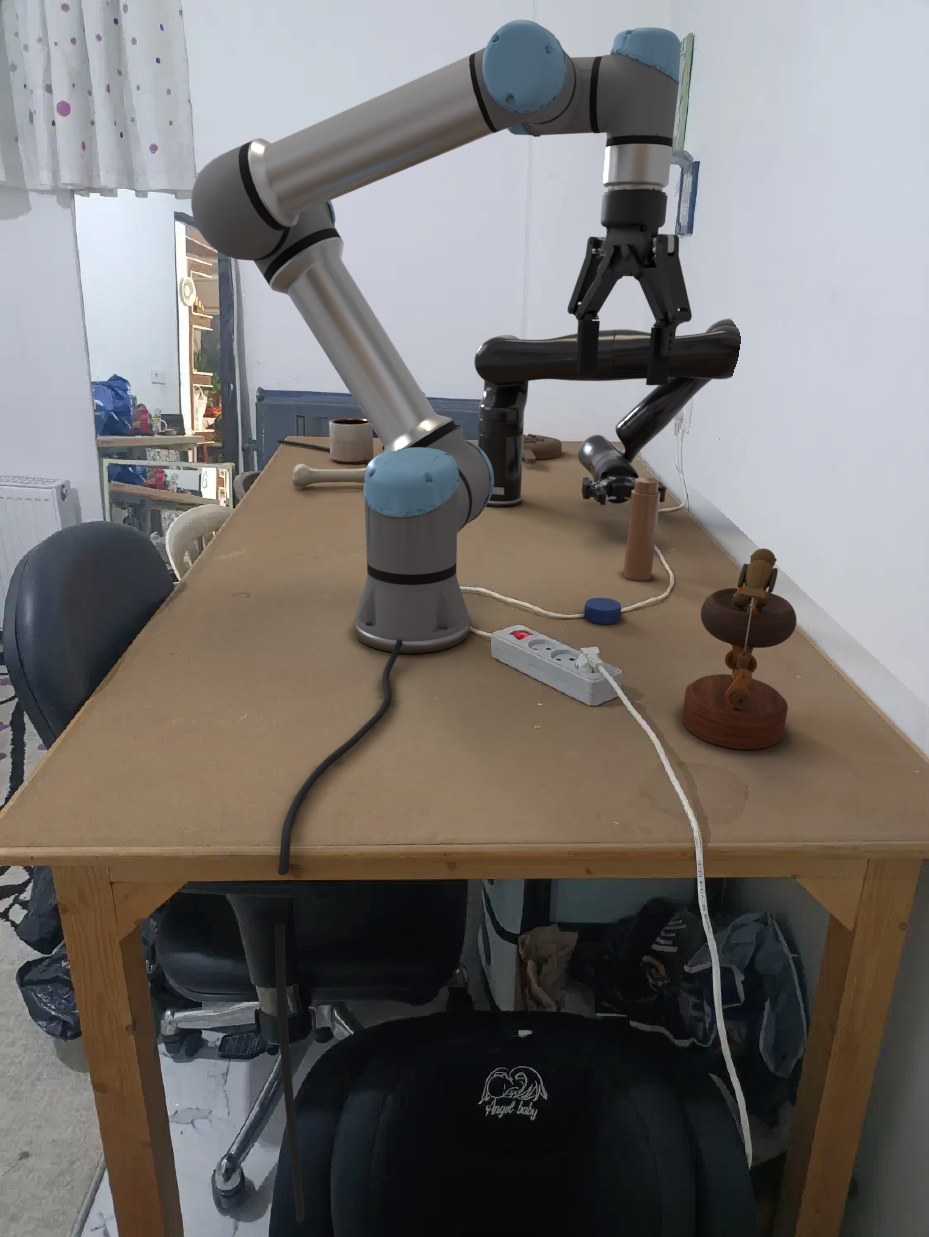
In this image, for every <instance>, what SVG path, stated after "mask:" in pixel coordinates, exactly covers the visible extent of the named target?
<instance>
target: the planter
mask: <svg viewBox="0 0 929 1237" xmlns="http://www.w3.org/2000/svg"><path fill="white" fill-rule="evenodd" d="M328 424H329V425H328V426H329V448H330V451H329V453H330V454H329V455H330V456H329V457H330V459H331V460H332V461H333V462H335V463H341V464H363V463H364V460H365V459H366V460H369V461H371V460H372V459H373V458H375V457H374V456H375V455H374V452H375V451H374V450H375V449H374V430H373V428H372V426H371V425H370V423H369V422H368V420H367V419H366V418H362V417H361V418H360V417H342V418H341V417H340V418H335V419H334V418H333V419H331V420H329V421H328Z"/></svg>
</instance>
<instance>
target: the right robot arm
mask: <svg viewBox="0 0 929 1237" xmlns="http://www.w3.org/2000/svg"><path fill="white" fill-rule="evenodd" d="M731 319H732V318H724V319H720V320H718V321H716V322H714V323H713V324H711V325H710V326H709V327H707V329H706V330H705V332H701V333H694V334H686V335H675V342H674V343H675V344H674V352H673V355H672V356H670V363H669V373H668V382H667V385H656V387H655V388H653V390H652V391H650V393H648V394H647V395H646V396H645V397H644V398H643V399H641V400H640V401H639V402H637V404H636V405H635V406H634V407H632V409H631V410H629V411H628V413H626V414H625V415H624V416H623V417H621V419H620V420H618V422H617V423H616V425H615V429H614V430H615V433H616V436H617V438H618V440H619V441H620V442H621V444H622V446H623V447H624V449H623V450H622V451H621V450H620V449H619V448H618V447H617V446H616V445H614V443H612V442H611V441H610V440H609V439H608V438H607V437H605V436H604V435H602V434H593V435H589V437H587V438H585V440H584V441H583V442H582V443H581V444H580V446H579V449H578V452H577V459H578V462H579V464H581V466H582V467H583V468H584V469H586V471H587V472H589V473H590V474H591V476H592V479H590V478H589V477H586V476H585V477H582V481H581V482H582V483H581V495H582V499H583V500H590V499H591V498H593V500H594V501H595V502H597V503H599V504H600V506H606V503H607V502H608V503H611V504H616V505H617V504H624V503H626V502H628V501H631V491H632V490H634V487H635V483H634V481H635V479H637V478H640V476H639V474H638V472H637V470H636V469H635V467H634V466H633V465H632V463H633V461H634V460H635V459H636V457H637V455H638V454H639V453H640V452H641V451H642V449H643V448H644V447H645V446H646V445H647V444H648V443H650V442H651V441H652V440H653V439H654V438H656V436H658V434H660V433H661V432H662V431H663V430H664V429H666V427H667V426H668V425H669V424H670V423H671V422H672V421H673V420H674V419H675V418H676V416H677V415H678V414H679V413H680V412H681V410H682V409H683V408H684V407H685V406H686V405H687V404H688V403H689V402H690V400H692V398H693V397H694V396H695V395H696V394H697V393H698V392H699V391H701V389H702V388H703V387H705V386H706V385H707V384H709V382H711V381H712V380H729V379H732V378H733V377H732V376H733V373H734V369H735V367H736V364H737V361H738V357H739V350H740V344H741V336H740V332H739V329H738V328H737V327H736V325H735V324H734V322H733V321H732V320H731ZM577 334H578V333H571V334H567V335H562V336H557V337H552V338H547V339H545V338H543V339H523V338H519V337H518V336H516V335H512V334H502V335H497V336H492V337H490V338H488V339H486V340H485V341H484V342H483V343H482V344H481V345H480V346H479V347H478V349H477V350H476V352H475V356H474V361H473V362H474V369H475V371H476V373H477V375H478V376H479V377H480V378H481V379H482V380H483V381H484V382H483V393H482V397H481V400H480V402H479V404H478V426H477V427H478V430H477V434H478V435H477V441H478V442H477V446H478V447H479V448H480V449H482V451H483V452H484V453H485V454H486V456H487V457H488V459H489V461H490V463H491V466H492V469H493V474H494V487H493V492H492V495H491V497H490V500H489V501H488V503H487V505H486V506H491V507H511V506H516V505H519V504H521V502H522V478H523V477H522V476H523V459H522V455H523V434H524V430H525V429H524V423H525V411H526V406H527V403H528V395H529V394H528V393H529V382H532V381H540V380H557V381H570V382H571V381H572V382H573V381H574V382H611V381H612V382H615V381H629V380H646V379H647V368H648V358H649V347H650V337H651V332H647V331H643V330H636V329H626V328H623V329H622V328H619V329H618V328H617V329H599V340H598V354H597V368H596V373H582V374H579V373H576V372H577V356H578V345H577ZM731 377H732V378H731ZM277 443H279V444H285V445H292V446H299V447H305V448H311V449H316V450H321V451H325V452H330V447H327V446H322V445H316V444H311V443H305V442H299V441H293V440H286V439H281V438H279V439H278V438H277ZM370 461H371V460H370ZM370 461H369V460H366V459H365V460H364V462H363V463H364V464H366V465H368V464H369V462H370ZM658 481H659V482H658V491H659V492H660V499H659V503H665V502H666V493H667V487H666V486H665V485H664V484H663V483H662V482H661V481H660V480H658Z"/></svg>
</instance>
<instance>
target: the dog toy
mask: <svg viewBox="0 0 929 1237" xmlns="http://www.w3.org/2000/svg"><path fill="white" fill-rule="evenodd" d="M366 468H367V466H366V467H362V468H349V469H348V468H342V469H341V468H336V469H333V468H332V469H326V468H325V469H320V468H312V467H309V466H307V465H306V464H304V463H298V464H296V465H294V468H293V470H292V476H291V481H292V486H294V487H295V488H296V487H297V488H305V487H308V486H309V485H314V484H320V483H321V484H322V483H360V484H364V483H365V471H366Z"/></svg>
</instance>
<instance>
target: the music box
mask: <svg viewBox="0 0 929 1237" xmlns="http://www.w3.org/2000/svg"><path fill="white" fill-rule="evenodd" d="M749 557H750V563H743V565H742V568H741V571H740V574H739V577H738V580H737V585H736V586H737V587H732V588H729V587H728V588H722V589H718V590H716V591H714V592H712V593H711V594H709V595H708V597H706V598H705V600H704V601H703V603H702V605H701V608H700V620H701V623H702V625H703V627H704V628H705V630H706V631H707V632H708V633H709V634H710V636H712V637H714V638H715V639H716V640H719V641H721V642H723V643H726V644H729V645H730V646H732V649H730V650H729V651H727V652H726V654H725V656H724V663H725V665H726V667H727V668H728V669H730V670H732V671H731V674H727V673H725V674H724V673H722V674H721V673H720V674H710V675H705V676H702V677H700V678H697V679H696V680H694V681H692V682H691V683H690V684H688V685H687V686H686V688H685V691H684V698H683V707H682V714H681V721H682V724H683V726H685V728H686V729H687V730H688V731H689V732H690V733H691V734H693V735H694V736H696V737H698V738H699V739H701V740H704V742H705V741H706V742H708V743H710V744H714V745H717V746H721V747H725V748H730V749H738V750H759V749H764V748H769V747H771V746H774V745H775V744H777V743H778V742H780V741H781V740H782V738H783V737H784V731H785V726H786V721H787V716H788V709H789V706H788V702H787V701H786V698H784V696H783V695H782V694H781V693H780V692H779V691H778V690H777V689H775V687H772V686H771V685H769V684H768V683H765V682H764V681H761V680H758V679H755V678H753V673H754V672H755V671H756V669H757V668H758V661H757V659H756V657H755V656H754V655H753V654H752V653H753V650H754V649H763V648H764V649H765V648H771V647H775V646H778V645H780V644H783V643H784V642H786V641H787V640H788V639H790V638H791V636H792V635H793V634H794V632H795V630H796V627H797V613H796V611H795V608H794V607H793V606H792V604H791V603H790V602H789V601H788V600H787V599H785V598H784V597H782V596H780V595H777V594H776V593H773V592H774V589H775V586H776V582H777V578H778V574H779V573H778V572H779V569H778V567H774V566H775V564H776V562H777V560H778V559H777V558H776V556H775V554H774V552H773V551H772V550H771V549H769V548H759V549H756V550H754V552H753V553H752V554H751V555H750V556H749Z"/></svg>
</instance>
